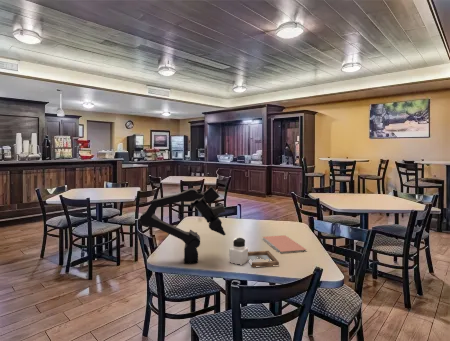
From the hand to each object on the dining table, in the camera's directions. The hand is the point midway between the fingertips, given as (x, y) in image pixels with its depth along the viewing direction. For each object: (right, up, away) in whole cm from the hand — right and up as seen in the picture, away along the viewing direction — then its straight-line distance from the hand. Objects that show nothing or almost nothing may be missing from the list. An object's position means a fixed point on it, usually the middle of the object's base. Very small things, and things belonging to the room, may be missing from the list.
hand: (223, 232), depth 149 cm
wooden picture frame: (+18, -15, +1) cm, 24 cm away
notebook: (+35, -14, +27) cm, 46 cm away
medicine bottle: (+7, -15, -1) cm, 17 cm away
